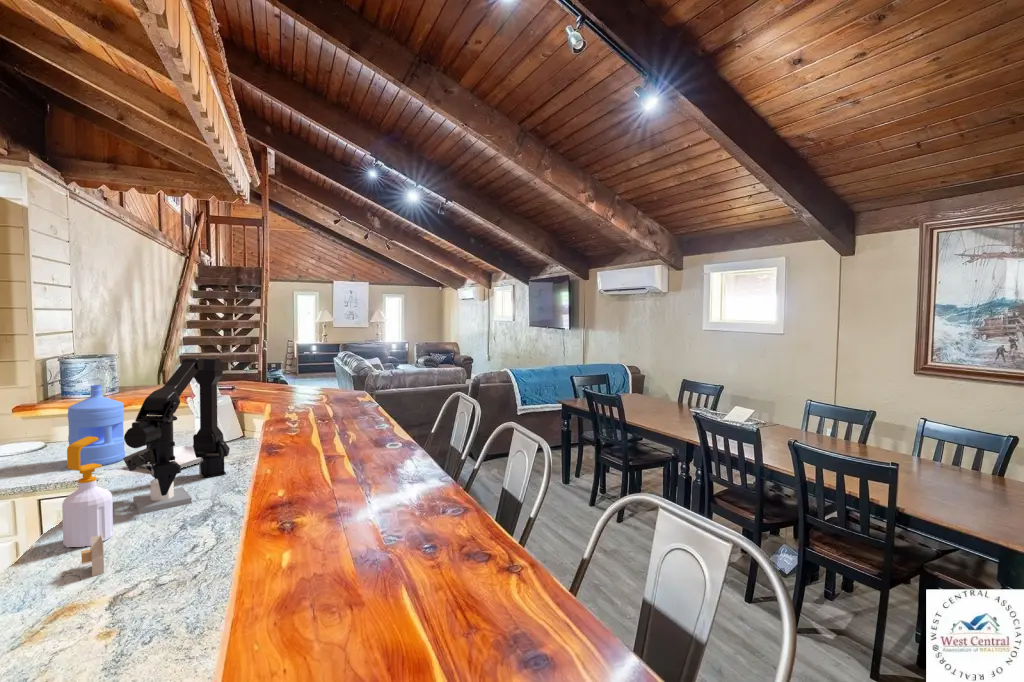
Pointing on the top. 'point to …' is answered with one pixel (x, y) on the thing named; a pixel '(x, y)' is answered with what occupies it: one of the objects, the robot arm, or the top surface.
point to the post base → (161, 501)
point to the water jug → (98, 428)
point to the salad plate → (184, 456)
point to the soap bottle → (86, 503)
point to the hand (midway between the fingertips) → (162, 492)
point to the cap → (157, 493)
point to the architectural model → (95, 555)
